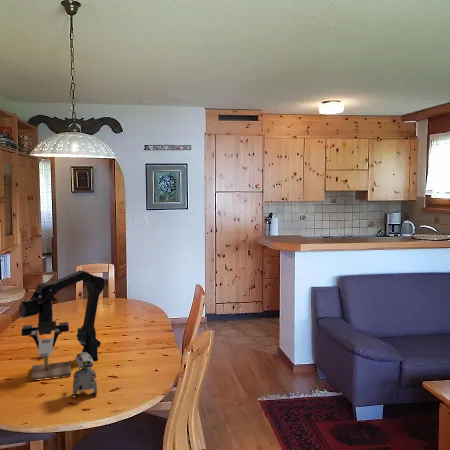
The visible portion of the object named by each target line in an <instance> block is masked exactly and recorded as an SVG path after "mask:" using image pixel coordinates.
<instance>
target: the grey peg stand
mask: <svg viewBox="0 0 450 450" xmlns="http://www.w3.org/2000/svg"><path fill="white" fill-rule="evenodd" d="M71 363H72V362H71V361H62V362H53V363H49V357H48V356H47V355H46V356H44V357H43V363H42V364H36V365H31V372H30V377H29V381H30V380H36V379H45V378H53V377H63V376H70V375H71V376H72V369H71V368H72V367H71ZM63 378H64V377H63Z"/></svg>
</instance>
